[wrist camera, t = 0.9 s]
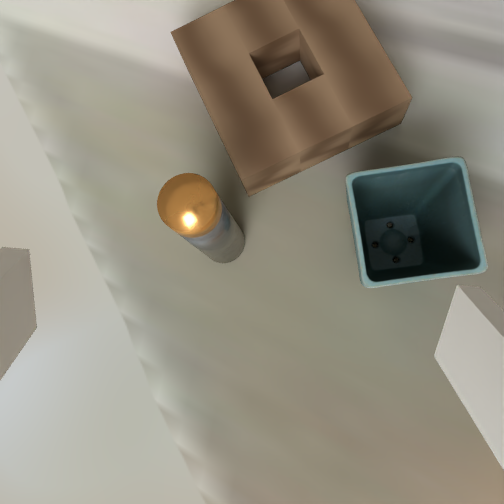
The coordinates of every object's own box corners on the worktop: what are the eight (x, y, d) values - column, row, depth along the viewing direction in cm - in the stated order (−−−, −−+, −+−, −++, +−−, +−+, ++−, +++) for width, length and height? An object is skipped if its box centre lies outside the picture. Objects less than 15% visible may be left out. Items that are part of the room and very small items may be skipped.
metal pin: (234, 214, 45) (201, 163, 31) (251, 251, 44) (226, 215, 31) (196, 232, 45) (148, 189, 32) (213, 270, 44) (170, 241, 31)
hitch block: (325, -8, 48) (327, -46, 43) (400, 123, 45) (412, 97, 40) (184, 62, 49) (170, 32, 44) (248, 196, 45) (241, 180, 40)
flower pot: (452, 285, 42) (490, 272, 33) (352, 298, 43) (363, 288, 34) (433, 190, 43) (465, 154, 35) (337, 205, 44) (344, 173, 35)
